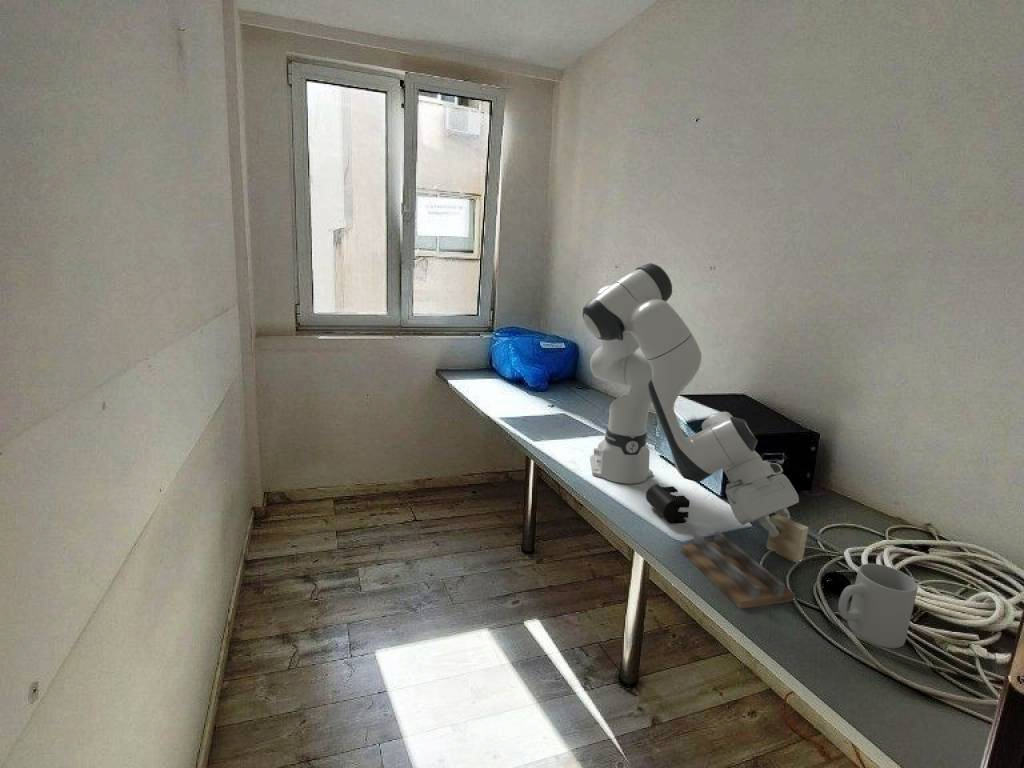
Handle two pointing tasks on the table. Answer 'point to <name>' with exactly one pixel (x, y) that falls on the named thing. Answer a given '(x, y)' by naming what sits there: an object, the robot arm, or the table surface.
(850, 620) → the mug
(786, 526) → the beige rectangular block
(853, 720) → the table surface
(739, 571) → the track board
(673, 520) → the black notched cylinder
